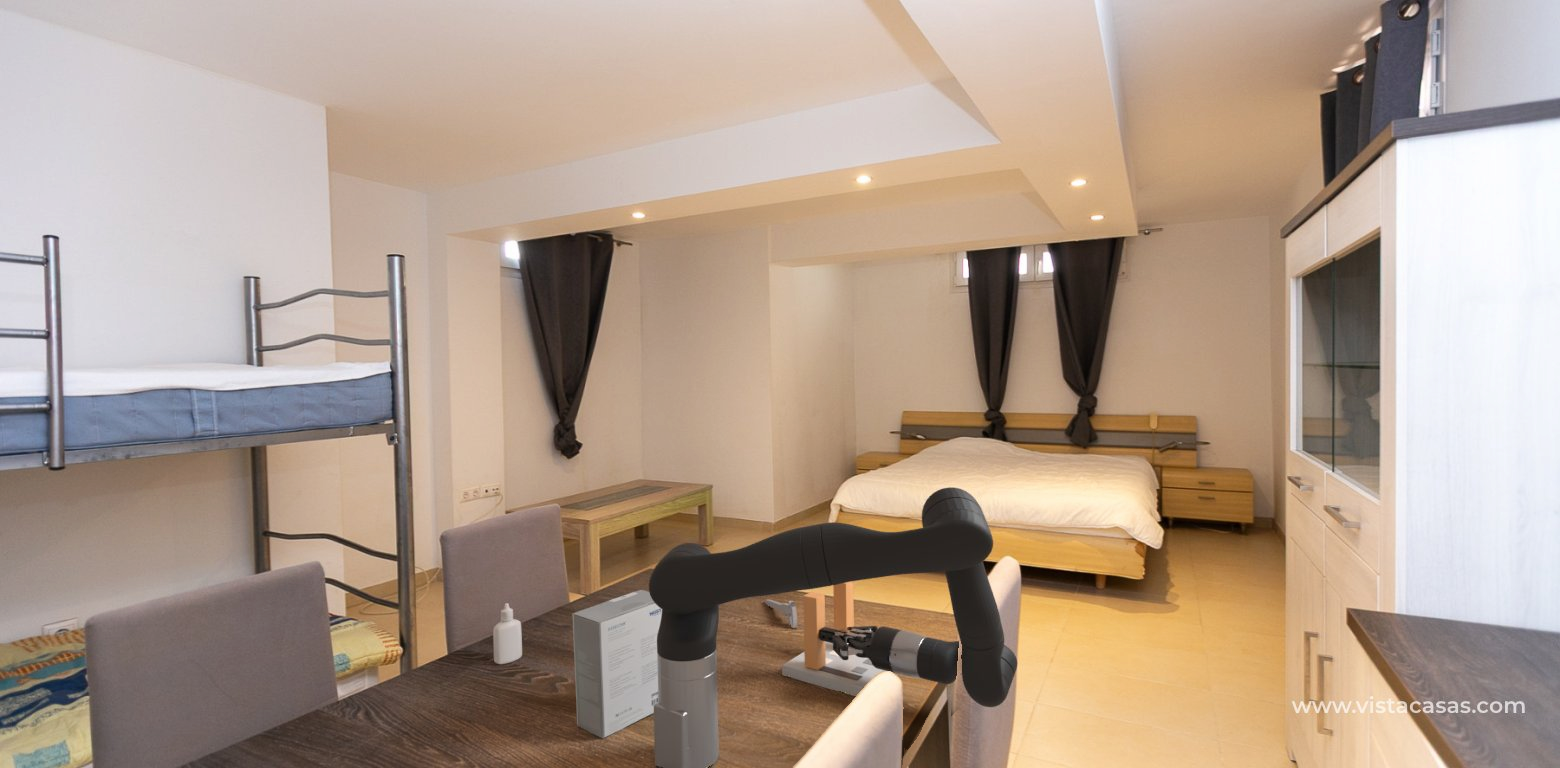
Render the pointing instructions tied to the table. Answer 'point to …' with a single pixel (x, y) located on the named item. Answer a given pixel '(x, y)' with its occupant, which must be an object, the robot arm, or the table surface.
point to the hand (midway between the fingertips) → (821, 633)
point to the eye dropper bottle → (507, 638)
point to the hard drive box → (616, 662)
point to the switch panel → (833, 671)
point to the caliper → (785, 610)
